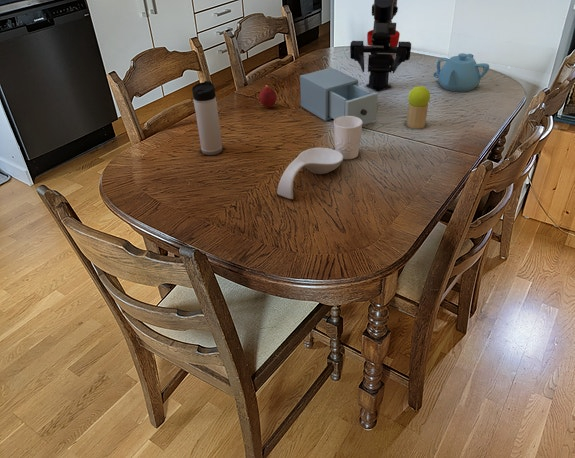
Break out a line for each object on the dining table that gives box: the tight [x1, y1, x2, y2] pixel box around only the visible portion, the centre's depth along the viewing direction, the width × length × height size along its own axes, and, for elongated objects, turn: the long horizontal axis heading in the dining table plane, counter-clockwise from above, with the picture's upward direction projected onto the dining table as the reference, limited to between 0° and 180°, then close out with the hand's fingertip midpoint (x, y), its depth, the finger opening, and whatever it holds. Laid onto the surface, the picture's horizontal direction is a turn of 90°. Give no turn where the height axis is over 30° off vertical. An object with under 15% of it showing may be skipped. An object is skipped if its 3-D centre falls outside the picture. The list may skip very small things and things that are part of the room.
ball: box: [407, 85, 431, 107], centre depth 151 cm, size 6×6×6 cm
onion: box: [258, 84, 278, 109], centre depth 169 cm, size 6×6×8 cm
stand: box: [405, 101, 429, 130], centre depth 155 cm, size 6×6×7 cm
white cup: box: [333, 116, 363, 160], centre depth 140 cm, size 8×8×10 cm
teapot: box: [433, 52, 490, 93], centre depth 178 cm, size 15×17×11 cm
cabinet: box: [299, 66, 359, 122], centre depth 166 cm, size 15×13×11 cm
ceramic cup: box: [366, 29, 401, 56], centre depth 203 cm, size 13×17×10 cm
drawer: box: [328, 84, 379, 126], centre depth 157 cm, size 15×12×9 cm
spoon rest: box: [276, 147, 344, 200], centre depth 131 cm, size 24×12×7 cm, turn 146°
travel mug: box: [191, 80, 224, 156], centre depth 142 cm, size 6×7×20 cm
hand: (378, 71), depth 154 cm, fingers open, 9 cm apart
